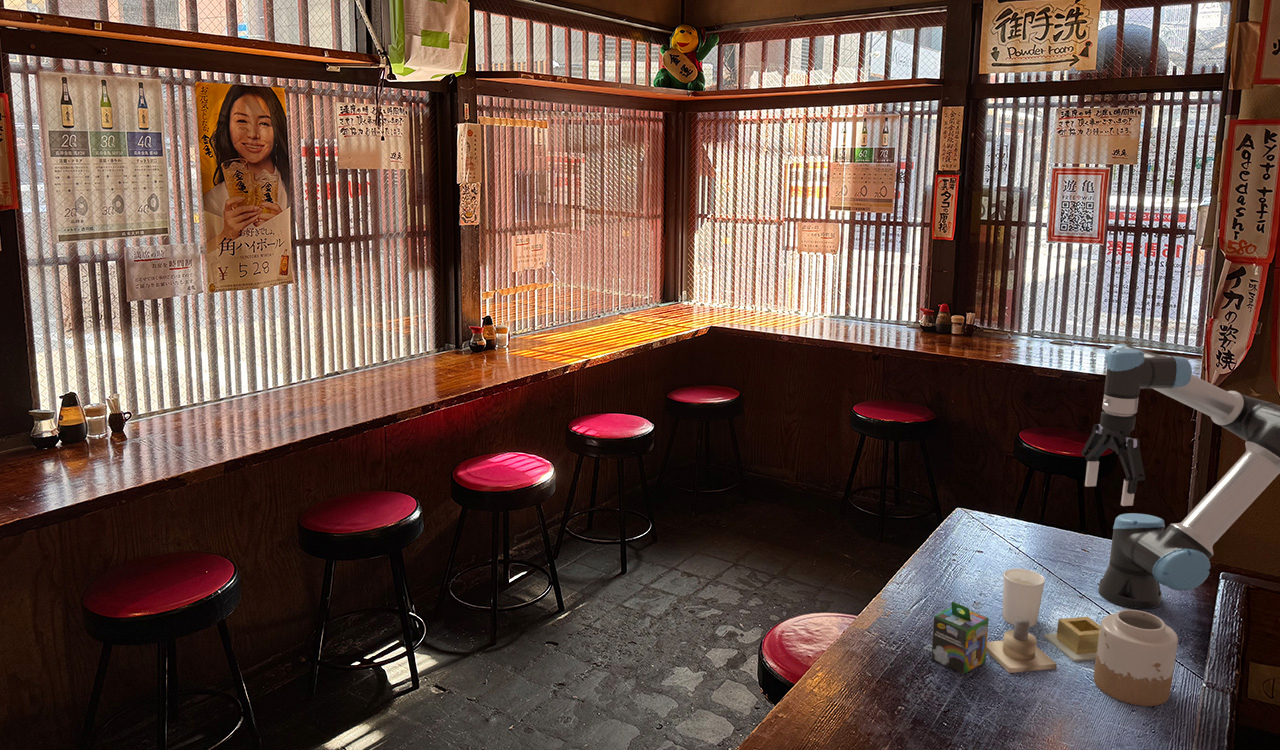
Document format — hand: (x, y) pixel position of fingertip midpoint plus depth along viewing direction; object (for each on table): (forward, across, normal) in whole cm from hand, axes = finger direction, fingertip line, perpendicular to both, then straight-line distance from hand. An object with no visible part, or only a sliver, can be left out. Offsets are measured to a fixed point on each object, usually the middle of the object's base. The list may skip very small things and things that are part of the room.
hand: (1108, 495), depth 231 cm
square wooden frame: (+34, +10, -10) cm, 37 cm away
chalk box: (+35, +11, -43) cm, 57 cm away
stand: (+35, +12, -28) cm, 46 cm away
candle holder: (+35, -5, -17) cm, 39 cm away
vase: (+35, +28, -10) cm, 46 cm away
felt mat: (+35, +10, -10) cm, 37 cm away
